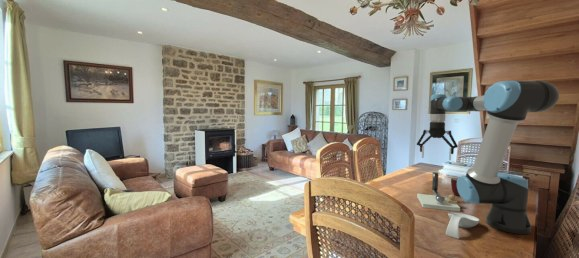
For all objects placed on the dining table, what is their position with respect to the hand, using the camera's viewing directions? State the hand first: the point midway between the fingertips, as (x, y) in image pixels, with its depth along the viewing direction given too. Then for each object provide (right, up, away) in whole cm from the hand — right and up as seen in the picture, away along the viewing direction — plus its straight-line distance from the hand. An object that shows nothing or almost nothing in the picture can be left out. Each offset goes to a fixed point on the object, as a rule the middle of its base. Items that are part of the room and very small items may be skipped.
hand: (435, 158), depth 145 cm
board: (-2, -24, -5) cm, 25 cm away
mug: (+20, -24, +9) cm, 32 cm away
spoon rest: (-10, -27, -35) cm, 45 cm away
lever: (-2, -20, -5) cm, 21 cm away
